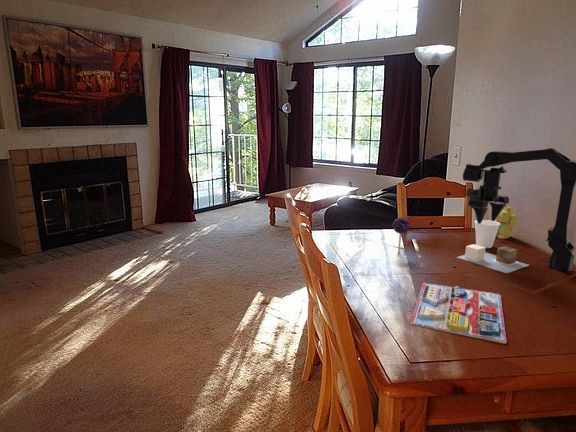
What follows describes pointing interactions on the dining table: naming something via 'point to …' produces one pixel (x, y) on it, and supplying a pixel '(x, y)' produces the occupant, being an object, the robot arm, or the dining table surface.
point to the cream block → (475, 253)
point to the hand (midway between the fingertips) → (486, 222)
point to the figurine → (506, 223)
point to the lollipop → (400, 228)
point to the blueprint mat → (497, 263)
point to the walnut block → (506, 255)
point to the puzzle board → (460, 312)
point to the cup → (486, 232)
